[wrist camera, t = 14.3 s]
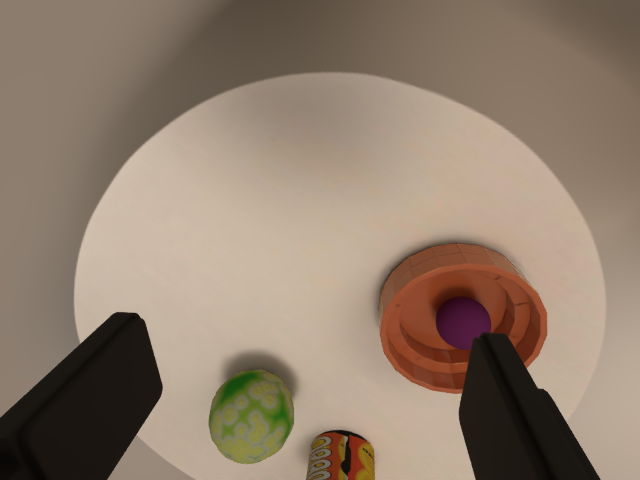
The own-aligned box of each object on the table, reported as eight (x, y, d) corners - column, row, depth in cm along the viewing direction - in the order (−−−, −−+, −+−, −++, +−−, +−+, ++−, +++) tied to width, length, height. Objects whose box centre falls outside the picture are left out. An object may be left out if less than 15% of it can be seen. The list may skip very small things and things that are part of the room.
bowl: (390, 233, 36) (393, 254, 31) (545, 250, 34) (572, 275, 30) (370, 349, 42) (371, 381, 37) (501, 367, 41) (518, 403, 36)
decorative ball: (277, 419, 48) (257, 496, 39) (214, 384, 47) (179, 455, 38) (315, 378, 45) (302, 452, 35) (248, 338, 43) (217, 405, 34)
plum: (440, 282, 36) (464, 307, 31) (482, 294, 37) (512, 321, 32) (419, 323, 38) (440, 354, 33) (461, 335, 39) (486, 366, 34)
